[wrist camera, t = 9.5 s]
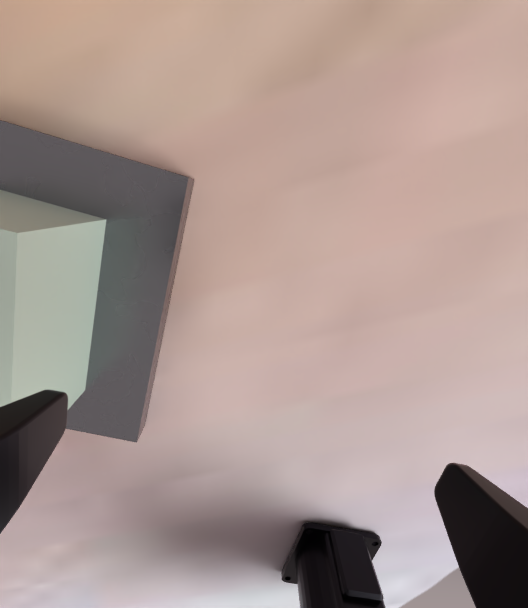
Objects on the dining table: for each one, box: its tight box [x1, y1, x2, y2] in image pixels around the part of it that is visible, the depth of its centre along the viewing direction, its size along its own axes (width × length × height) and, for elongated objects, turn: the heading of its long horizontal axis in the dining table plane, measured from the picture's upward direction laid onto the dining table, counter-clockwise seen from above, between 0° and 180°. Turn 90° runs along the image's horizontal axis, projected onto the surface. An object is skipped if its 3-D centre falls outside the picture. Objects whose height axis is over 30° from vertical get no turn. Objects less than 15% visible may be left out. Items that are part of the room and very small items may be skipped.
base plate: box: [0, 120, 194, 442], centre depth 15 cm, size 16×13×4 cm
